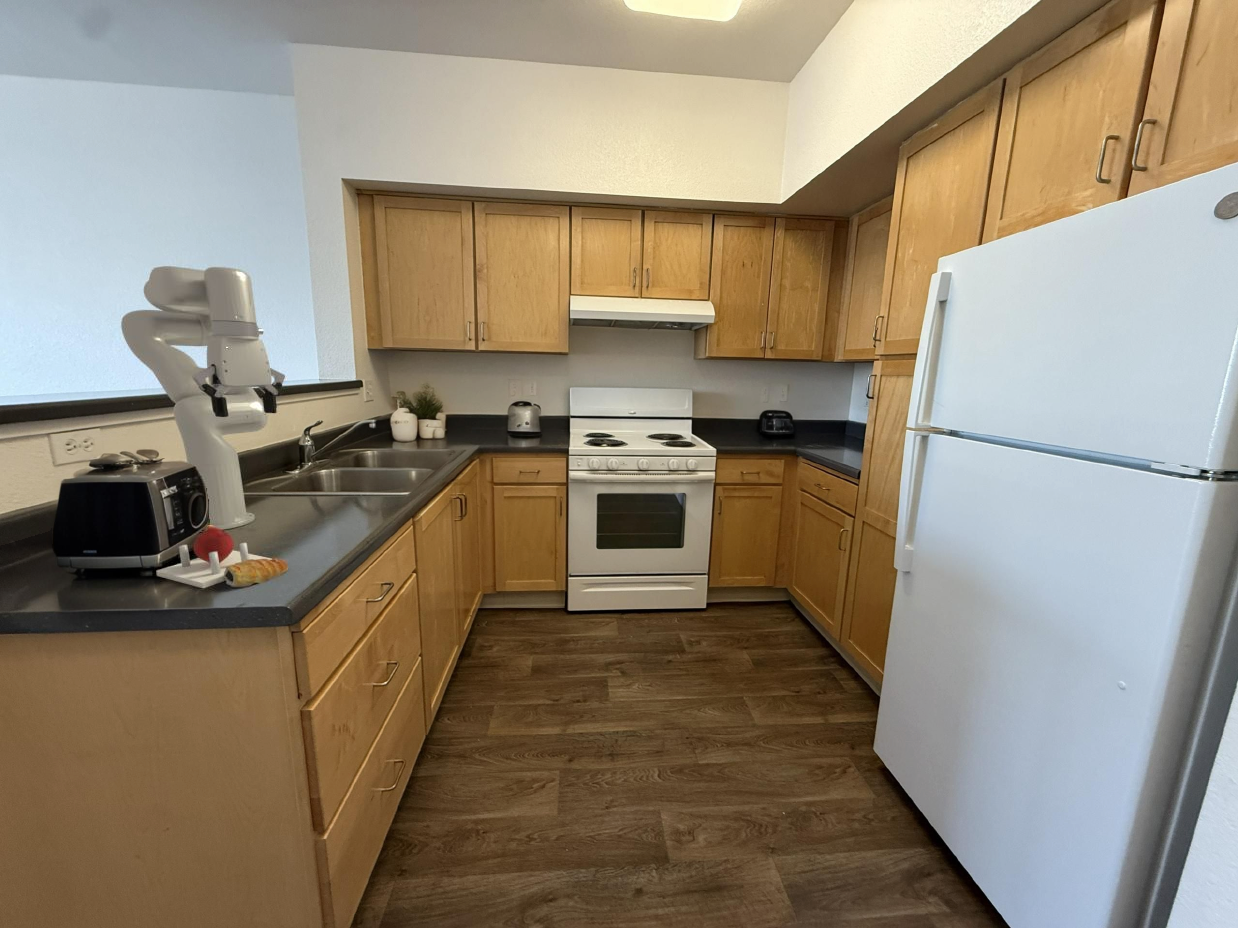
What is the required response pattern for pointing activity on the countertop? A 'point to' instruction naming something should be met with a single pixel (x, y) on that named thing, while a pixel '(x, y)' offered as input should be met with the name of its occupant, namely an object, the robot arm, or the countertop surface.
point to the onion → (213, 544)
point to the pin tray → (204, 567)
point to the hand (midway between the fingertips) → (247, 414)
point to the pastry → (254, 571)
